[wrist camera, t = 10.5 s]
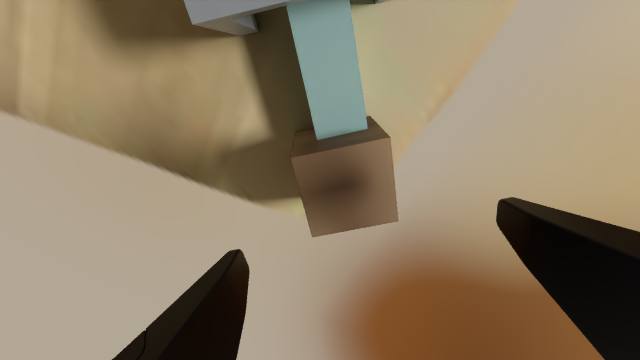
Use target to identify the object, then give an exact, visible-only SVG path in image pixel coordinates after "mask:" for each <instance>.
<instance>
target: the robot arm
mask: <svg viewBox="0 0 640 360" xmlns="http://www.w3.org/2000/svg"><path fill="white" fill-rule="evenodd" d="M496 222H497V225H498V227H499V229H500V230H501V231H502V233H503V234H504V236H505V237H506V239H507V240H508V241H509V243H510V245H511V246H512V248H513V249H514V250H515V252H516V253H517V255H518V256H519V258H520V259H521V260H522V262H523V263H524V265H525V266H526V267H527V268H528V270H529V271H530V272H531V273H532V274H533V276H534V277H535V278H536V279H537V280H538V281H539V283H541V285H542V286H543V287H544V289H545V290H546V291H547V292H548V293H549V294H550V296H551V297H552V298H553V299H554V300H555V302H556V303H557V304H558V305H559V306H560V307H561V309H562V310H563V311H564V312H565V313H566V314H567V316H568V317H569V318H570V319H571V320H572V322H573V323H574V324H575V325H576V326H577V327H578V329H579V330H580V331H581V332H582V333H583V335H584V336H585V337H586V338H587V339H588V341H589V342H590V343H591V344H592V345H593V346H594V348H596V350H597V351H598V352H599V353H600V355H601V356H602V357H603V358H604V359H605V360H640V232H638V231H634V230H631V229H627V228H623V227H620V226H616V225H612V224H609V223H605V222H601V221H598V220H594V219H591V218H587V217H583V216H580V215H576V214H572V213H569V212H565V211H561V210H558V209H554V208H550V207H547V206H543V205H540V204H536V203H532V202H529V201H525V200H521V199H518V198H514V197H510V198H505V199H501V200H499V202H498V206H497V217H496ZM248 281H249V266H248V264H247V261H246V259H245V257H244V254H243V252H242V251H241V250H240V249H237V250H232V251H229V252H227V253H226V254H225V255H224V256H223V257H222V258H221V259H220V260H219V261H218V262H217V263H216V264H214V265H213V266H212V267H211V268H210V269H209V270H208V271H207V272H206V273H205V274H204V275H203V276H202V277H201V278H199V279H198V280H197V281H196V282H195V283H194V284H193V285H192V286H191V287H190V288H189V289H188V290H187V291H186V292H185V293H183V294H182V295H181V296H180V297H179V298H178V299H177V300H176V301H175V302H174V303H173V304H172V305H171V306H170V307H169V308H167V309H166V310H165V311H164V312H163V313H162V314H161V315H160V316H159V317H158V318H157V319H156V320H155V321H154V322H152V323H151V324H150V325H149V326H148V327H147V328H146V331H143V332H142V333H141V334H140V335H139V336H138V337H136V338H135V339H134V340H133V341H132V342H131V343H130V344H129V345H128V346H127V347H126V348H124V349H123V350H122V351H121V352H120V353H119V354H118V355H117V356H116V357H115V358H114V359H112V360H236V358H237V353H238V348H239V343H240V339H241V334H242V329H243V324H244V318H245V313H246V304H247V293H248Z"/></svg>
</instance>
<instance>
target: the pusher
mask: <svg viewBox="0 0 640 360" xmlns="http://www.w3.org/2000/svg"><path fill="white" fill-rule="evenodd" d="M286 8H287V12H288V16H289V21H290V25H291V29H292V34H293V38H294V42H295V47H296V51H297V55H298V59H299V64H300V68H301V72H302V77H303V81H304V85H305V90H306V94H307V98H308V103H309V107H310V111H311V116H312V120H313V124H314V129H315V133H316V137H317V140H320V139H325V138H329V137H334V136H338V135H343V134H347V133H352V132H357V131H361V130H366V129H368V127H367V120H366V113H365V106H364V99H363V92H362V85H361V78H360V71H359V63H358V56H357V49H356V42H355V35H354V28H353V21H352V14H351V7H350V0H307V1H303V2H299V3H295V4H291V5H287V6H286Z"/></svg>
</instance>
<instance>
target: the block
mask: <svg viewBox="0 0 640 360" xmlns="http://www.w3.org/2000/svg"><path fill="white" fill-rule="evenodd" d="M366 120H367V127H368V129H366V130H361V131H357V132H352V133H347V134H343V135H338V136H334V137H329V138H325V139H320V140H317V137H316V133H315V129H314V128H311V129H307V130H302V131H297V132H295V137H294V143H293V148H292V153H291V162H292V165H293V169H294V173H295V176H296V180H297V184H298V187H299V191H300V195H301V198H302V202H303V206H304V209H305V213H306V217H307V220H308V224H309V227H310V231H311V235H312V237H317V236H322V235H328V234H333V233H338V232H344V231H349V230H354V229H359V228H365V227H370V226H375V225H381V224H386V223H391V222H396V221H398V212H397V201H396V191H395V180H394V170H393V159H392V149H391V139H390V136H389V135H388V134H387V133H386V132H385V131H384V130H383V129H382V128H381V127H380V126H379V125H378V124H377V123H376V122H375V121H374V120H373V119H372V118H371V116H368V117H366Z"/></svg>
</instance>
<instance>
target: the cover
mask: <svg viewBox="0 0 640 360" xmlns="http://www.w3.org/2000/svg"><path fill="white" fill-rule="evenodd" d="M303 1H307V0H184V3H185V6H186V9H187V11H188V14H189V17H190V20H191V22H192V25H196V26H200V27H205V28H209V29H213V30H217V31H221V32H226V33H230V34H234V35H238V36H242V35H246V34H251V33H255V32H259V30H258V26H257V22H256V18H255V15H254V13H258V12H263V11H267V10H271V9H275V8H279V7H283V6H287V5H291V4H295V3H299V2H303ZM375 1H376V3H380V2H384V1H388V0H375Z"/></svg>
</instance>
